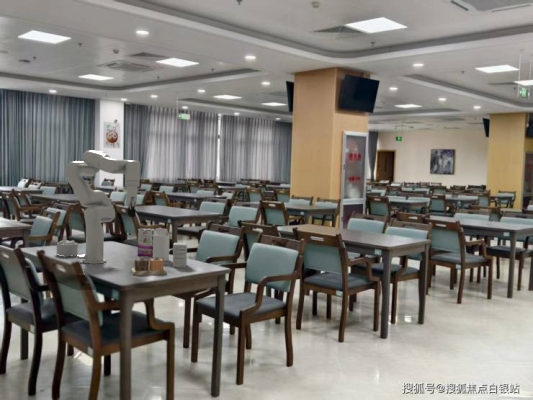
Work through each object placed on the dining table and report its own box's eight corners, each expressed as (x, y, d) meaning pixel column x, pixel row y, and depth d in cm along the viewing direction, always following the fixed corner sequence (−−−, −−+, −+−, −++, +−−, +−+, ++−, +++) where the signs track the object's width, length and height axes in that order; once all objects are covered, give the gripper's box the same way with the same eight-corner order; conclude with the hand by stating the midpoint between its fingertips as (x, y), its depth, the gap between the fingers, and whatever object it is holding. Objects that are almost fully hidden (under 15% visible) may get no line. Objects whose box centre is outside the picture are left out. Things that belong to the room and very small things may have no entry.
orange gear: (150, 270, 273) (150, 261, 273) (148, 268, 280) (148, 258, 279) (164, 270, 275) (164, 260, 275) (162, 267, 282) (162, 258, 282)
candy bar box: (157, 256, 326) (157, 229, 325) (152, 257, 322) (153, 230, 321) (141, 254, 330) (142, 228, 329) (137, 255, 326) (137, 228, 325)
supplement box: (173, 264, 300) (174, 242, 299) (186, 265, 301) (187, 242, 300) (172, 267, 293) (172, 244, 292) (185, 267, 293) (186, 244, 292)
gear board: (133, 274, 268) (133, 259, 268) (131, 270, 279) (131, 255, 278) (166, 273, 274) (167, 258, 273) (163, 269, 284) (164, 254, 284)
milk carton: (164, 262, 307) (165, 229, 306) (152, 261, 308) (153, 228, 307) (168, 260, 314) (169, 228, 313) (157, 259, 315) (158, 227, 314)
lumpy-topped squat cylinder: (63, 257, 310) (63, 242, 309) (52, 254, 319) (52, 240, 318) (79, 255, 318) (79, 241, 317) (69, 252, 326) (69, 238, 326)
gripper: (123, 183, 288) (123, 214, 289) (126, 184, 272) (125, 217, 273) (138, 183, 291) (137, 214, 292) (141, 184, 274) (140, 217, 275)
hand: (131, 216), depth 282 cm, fingers open, 9 cm apart
